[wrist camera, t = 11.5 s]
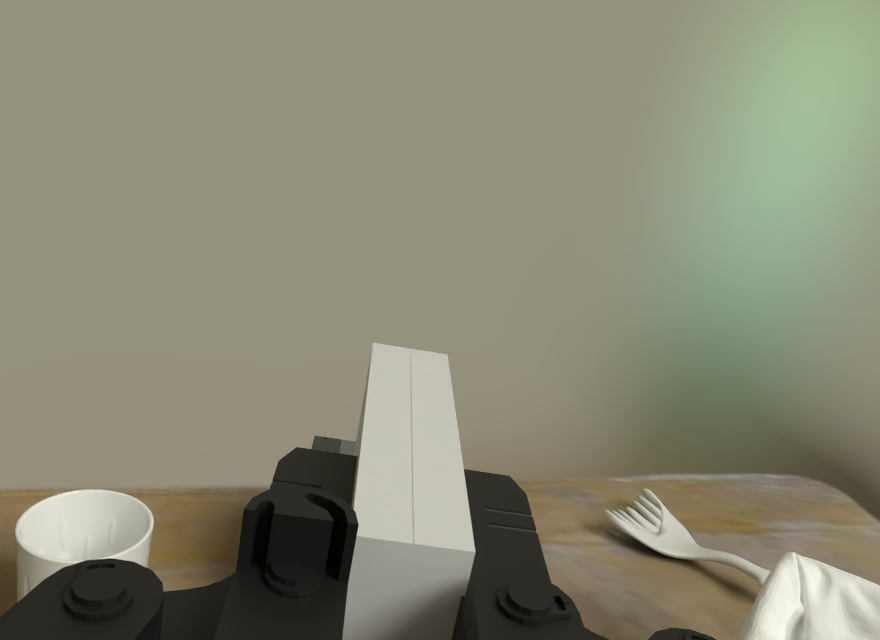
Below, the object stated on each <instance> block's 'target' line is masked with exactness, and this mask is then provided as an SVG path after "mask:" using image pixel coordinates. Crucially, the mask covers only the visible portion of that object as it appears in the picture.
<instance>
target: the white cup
mask: <svg viewBox="0 0 880 640" xmlns="http://www.w3.org/2000/svg"><path fill="white" fill-rule="evenodd" d="M153 525H154V519H153V515H152V513H151V511H150V510H149V508H148V507H147V506H146V505H145V504H144V503H142V502H141V501H140V500H138V499H136V498H134V497H132V496H129V495H127V494H123V493H120V492H115V491H109V490H97V489H90V490H77V491H70V492H65V493H61V494H57V495H54V496H51V497H49V498H46V499H44V500H42V501H40V502H38V503H36V504H34V505H33V506H31V507H30V508H29V509H27V510H26V511H25V512H24V513H23V514H22V515H21V517H20V518H19V520H18V521H17V524H16V527H15V544H16V570H17V598H18V602H19V601H20V600H21V599H22V598H23V597H24V596H26V595H27V594H28V593H29V592H30V591H31V590H32V589H34V588H35V587H36V586H37V585H38V584H39V583H41V582H42V581H43V580H44V579H46V578H47V577H49V576H50V575H52V574H54V573H55V572H57V571H58V570H60V569H62V568H63V567H66V566H70V565H73V564H76V563H79V562H83V561H86V560H95V559H108V558H113V559H120V560H126V561H133V562H136V563H138V564H140V565H142V566H144V567H146V568H147V567H148V560H149V553H150V545H151V539H152V532H153Z"/></svg>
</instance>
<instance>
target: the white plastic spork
mask: <svg viewBox="0 0 880 640" xmlns="http://www.w3.org/2000/svg"><path fill="white" fill-rule="evenodd" d="M641 492H642V494H643V496H644V497H645V498H646V499H647V500H646V499H645V498H643V497H641V496H637V497H638V500H639V501H640V503H641V504H642V505H643V506H642V505H641V504H639V503H638V502H636V501H632V502H633V505H634V506H635V508H636V509H637V510H638V512H639V513H640V514H641V515H642V516H643V517H642V516H641V515H640V514H638V513H637V512H636V511H634V510H633V509H631V508H630V507H626V510H627V512H628V514H629V515H630V516H628V515H627V514H626V513H625V512H623V511H622V510H619V509H618V510H617V511H618V513H617V512H616V511H613V510H612V511H611V512H609V511H607V510H603V516H604V518H605V519H606V520H607V521H608V522H609V523H611V524H612V525H613V526H615V527H616V528H618V529H619V530H621V531H623V532H624V533H626V534H628V535H630V536H631V537H633V538H635V539H636V540H638V541H639V542H641V543H643V544H644V545H646V546H647V547H649V548H651V549H653V550H655V551H656V552H659V553H661V554H663V555H666V556H669V557H673V558H678V559H687V560H702V561H712V562H718V563H722V564H726V565H729V566H731V567H734V568H736V569H738V570H740V571H742V572H743V573H745V574H747V575H748V576H750V577H752V578H753V579H754V580H756V581H757V582H758V584H759V585H760V586H761V587H762V585H763V584H764V582H765V580H766V578H767V576H768V575H769V573H770V571H771V570H766V569H763V568H761V567H758V566H756V565H754V564H752V563H750V562H748V561H747V560H745V559H743V558H741V557H738V556H735V555H733V554H729V553H726V552H721V551H716V550H710V549H706V548H702V547H700V546H699V545H697V544H696V542H695V541H694V540H693V539H692V537H691V536H690V534H689V533H688V531H687V530H686V529H685V528H684V526H683V525H682V524H681V523H680V522H679V521H678V520H676V519H675V518H674V517H673V516H672V515H671V514H670V512H669V511H668V510H667V509H666V508H665V506H664V505H663V504H662V503H661V502H660V500H659V499H658V498H657V497H656V496H655V495H654V494H653V493H652V492H651V491H650V490H648V489H646V488H643V489H642V490H641Z"/></svg>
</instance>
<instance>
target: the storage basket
mask: <svg viewBox="0 0 880 640" xmlns="http://www.w3.org/2000/svg"><path fill="white" fill-rule="evenodd" d="M737 640H880V586H879V585H877V584H875V583H872V582H870V581H868V580H865V579H863V578H860V577H858V576H855V575H853V574H850V573H847V572H845V571H842V570H839V569H837V568H834V567H832V566H829V565H827V564H824V563H822V562H819V561H817V560H814V559H810V558H807V557H803V556H799V555H798V554H797V553H795V552H786V553H784V554H783V555H782V556H781V557H780V558H779V560H778V561H777V563H776V564H775V566H774V567H773V568H772V570H771V571H770V573H769V575H768V576H767V578H766V580H765V582H764V584H763V585H762V587H761V589H760V591H759V593H758V595H757V597H756V599H755V601H754V603H753V605H752V608H751V610H750V612H749V614H748V616H747V618H746V620H745V622H744V624H743V626H742V628H741V631H740V634H739V636H738V639H737Z"/></svg>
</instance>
